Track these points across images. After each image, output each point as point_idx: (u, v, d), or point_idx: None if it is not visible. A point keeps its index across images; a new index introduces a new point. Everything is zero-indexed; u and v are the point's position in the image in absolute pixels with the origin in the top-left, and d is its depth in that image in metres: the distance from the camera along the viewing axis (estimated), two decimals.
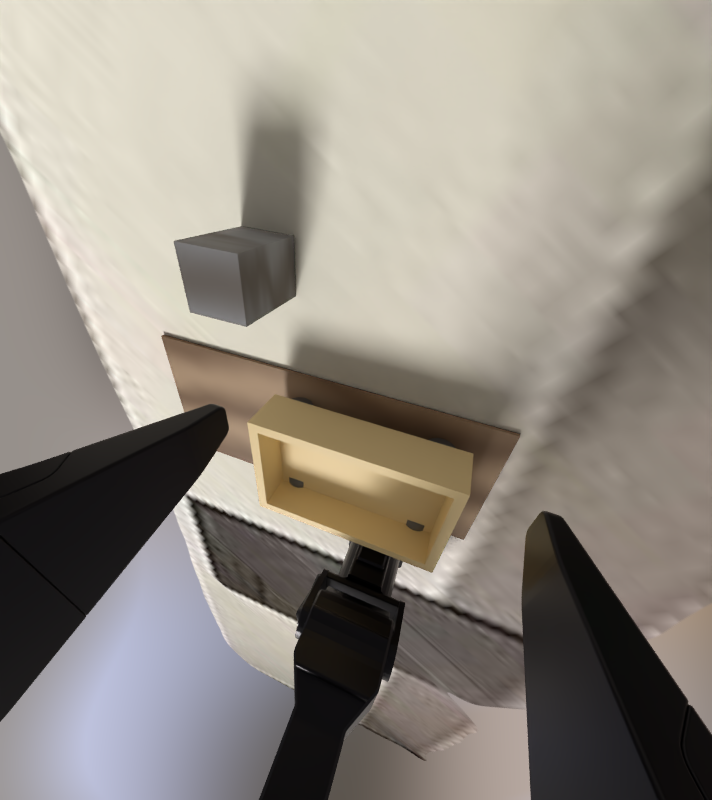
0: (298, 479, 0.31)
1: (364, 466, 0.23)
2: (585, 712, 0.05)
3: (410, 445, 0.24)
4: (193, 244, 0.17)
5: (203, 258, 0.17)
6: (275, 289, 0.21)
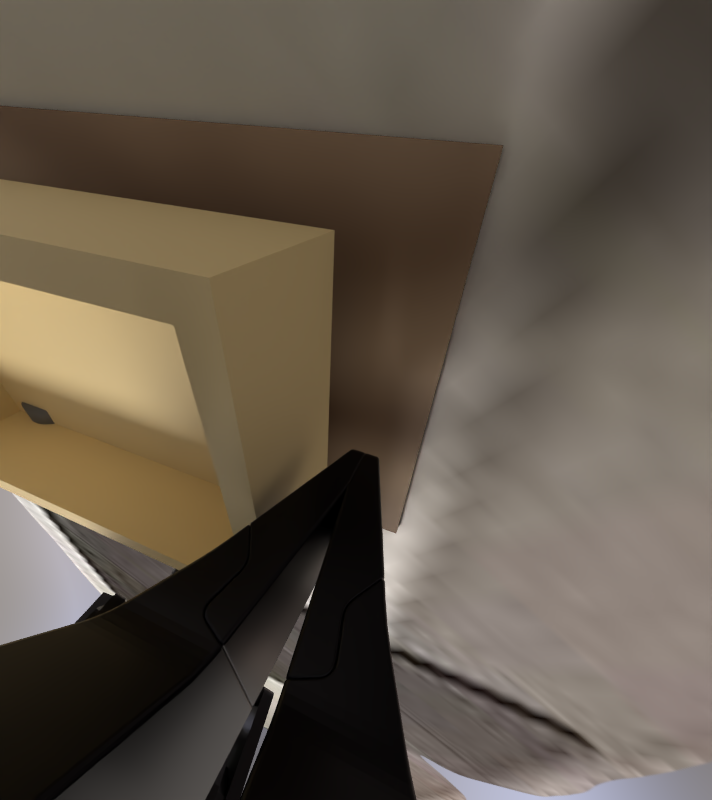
0: (36, 405, 0.15)
1: None
2: None
3: None
4: None
5: None
6: None
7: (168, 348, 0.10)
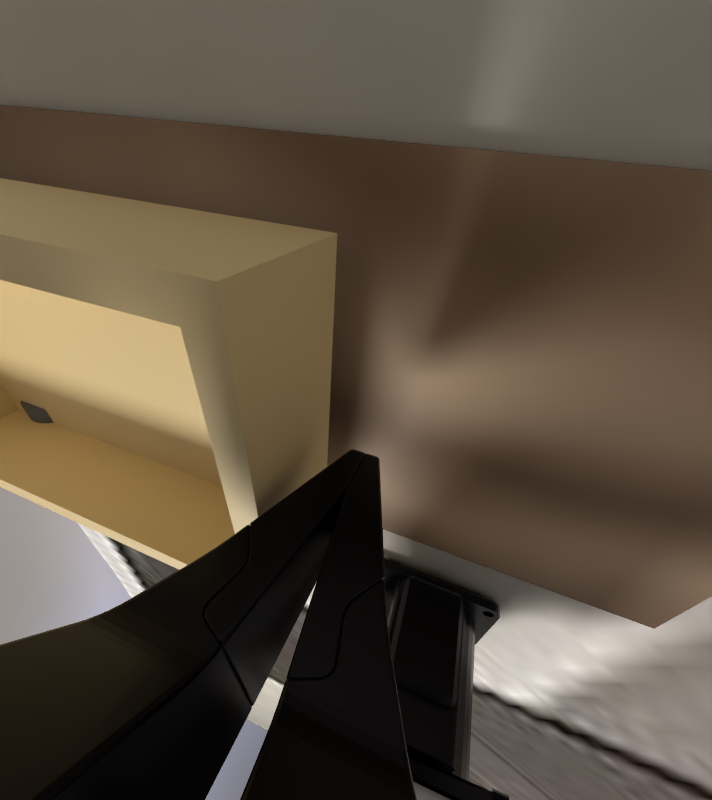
0: (35, 404, 0.15)
1: None
2: None
3: None
4: None
5: None
6: None
7: (170, 348, 0.10)
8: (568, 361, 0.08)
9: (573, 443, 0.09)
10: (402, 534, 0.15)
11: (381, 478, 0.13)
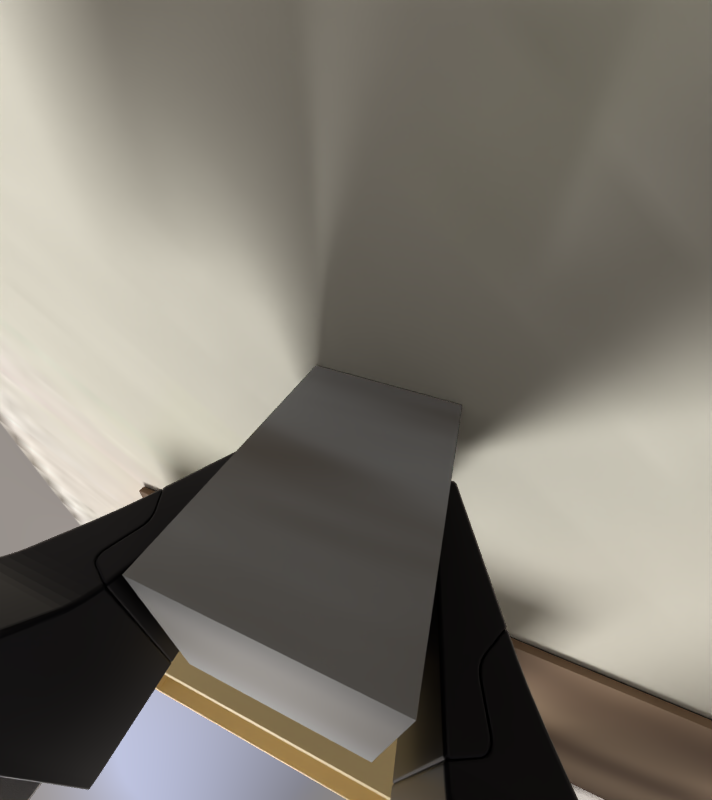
0: None
1: (276, 736, 0.12)
2: None
3: None
4: (203, 602, 0.04)
5: (242, 648, 0.04)
6: None
7: None
8: (605, 729, 0.14)
9: (604, 750, 0.15)
10: None
11: None
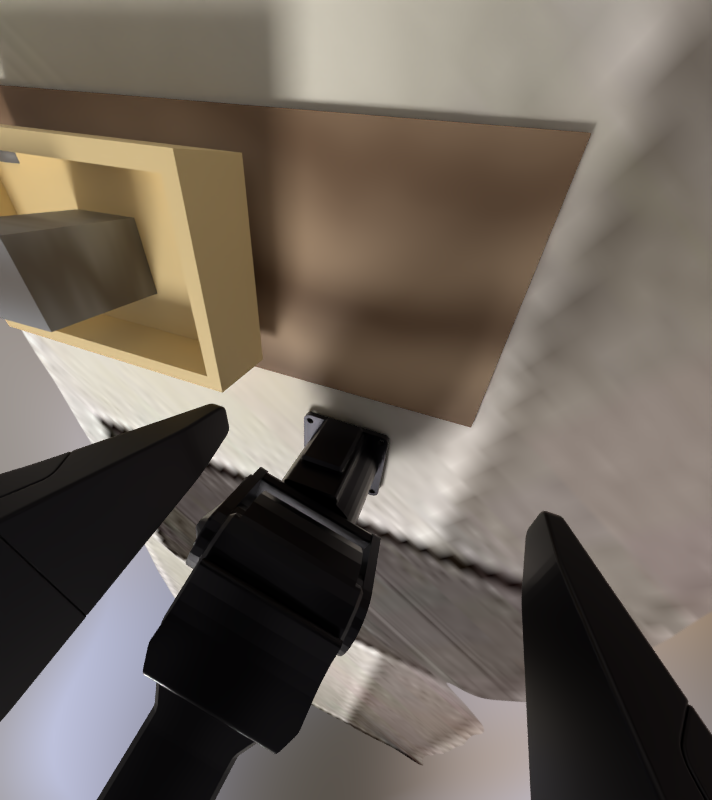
0: None
1: (33, 147, 0.13)
2: (585, 712, 0.05)
3: None
4: None
5: None
6: (108, 284, 0.17)
7: (160, 229, 0.17)
8: (374, 227, 0.15)
9: (390, 283, 0.17)
10: (320, 382, 0.22)
11: (300, 335, 0.20)
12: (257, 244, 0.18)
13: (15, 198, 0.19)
